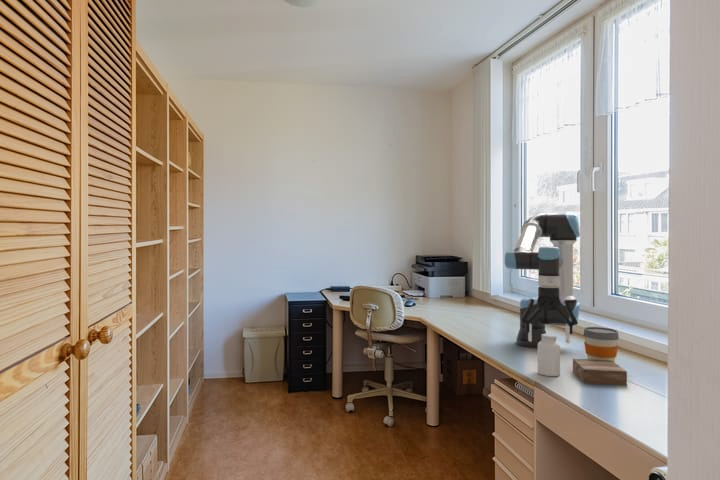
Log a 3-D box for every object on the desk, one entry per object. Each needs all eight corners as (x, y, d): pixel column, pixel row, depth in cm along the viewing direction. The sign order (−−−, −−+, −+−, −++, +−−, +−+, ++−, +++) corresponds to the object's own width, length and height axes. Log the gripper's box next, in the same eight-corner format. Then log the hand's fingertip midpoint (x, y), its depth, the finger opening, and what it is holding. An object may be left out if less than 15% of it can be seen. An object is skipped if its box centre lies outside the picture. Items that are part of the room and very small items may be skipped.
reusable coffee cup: (606, 373, 166) (606, 334, 166) (576, 364, 177) (576, 328, 177) (625, 368, 172) (625, 331, 172) (595, 360, 183) (595, 325, 183)
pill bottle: (558, 371, 168) (558, 333, 168) (561, 378, 160) (561, 338, 160) (537, 369, 171) (537, 332, 171) (538, 375, 163) (538, 336, 163)
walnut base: (572, 371, 168) (572, 358, 168) (611, 373, 166) (611, 360, 166) (584, 383, 155) (584, 369, 155) (626, 385, 152) (626, 371, 152)
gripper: (516, 286, 164) (516, 342, 164) (586, 288, 159) (586, 345, 159) (513, 285, 172) (513, 338, 171) (580, 286, 167) (580, 341, 166)
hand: (548, 341), depth 165 cm, fingers open, 13 cm apart
